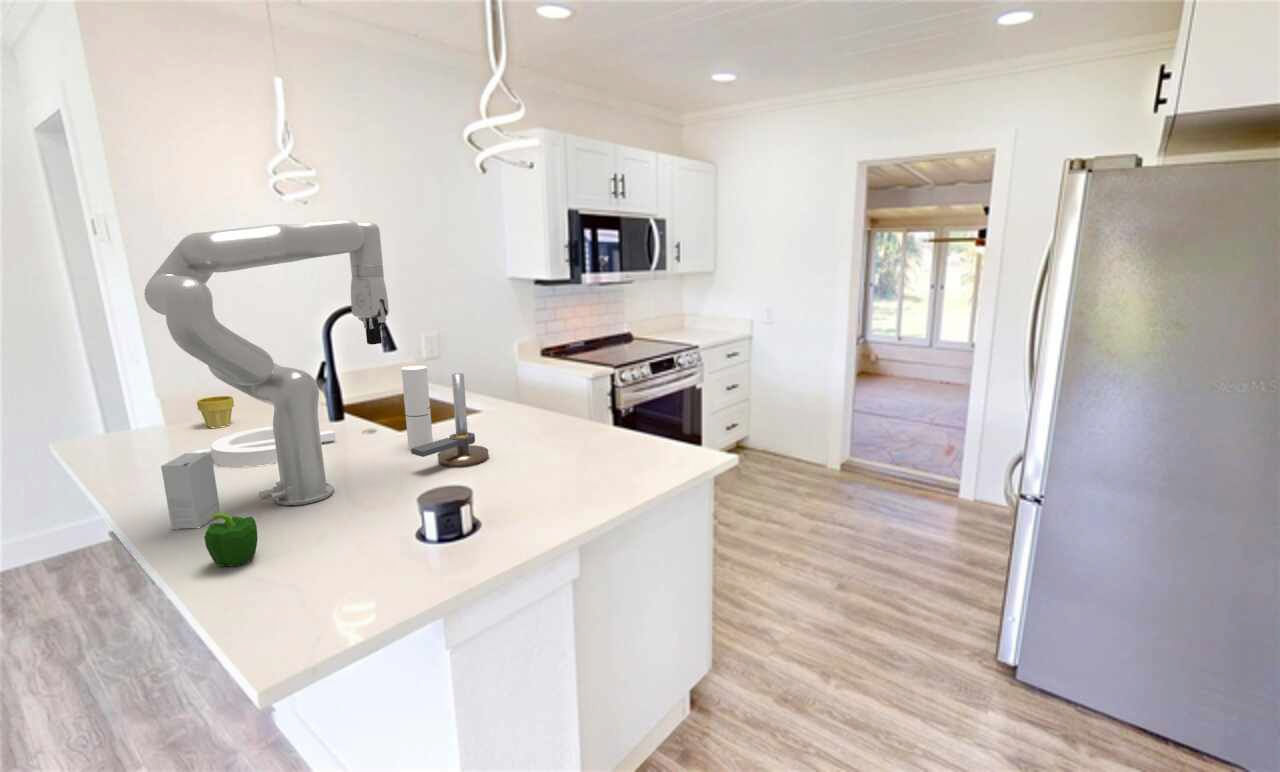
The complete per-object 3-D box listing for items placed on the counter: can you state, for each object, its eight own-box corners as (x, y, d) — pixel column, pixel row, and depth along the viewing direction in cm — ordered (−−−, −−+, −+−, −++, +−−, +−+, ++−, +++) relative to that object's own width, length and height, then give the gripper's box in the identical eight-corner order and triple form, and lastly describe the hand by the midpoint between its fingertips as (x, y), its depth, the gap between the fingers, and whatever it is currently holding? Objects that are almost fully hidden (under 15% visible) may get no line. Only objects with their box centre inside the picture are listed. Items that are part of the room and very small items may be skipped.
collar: (425, 458, 158) (424, 451, 158) (409, 454, 162) (408, 446, 161) (479, 441, 173) (479, 434, 173) (464, 437, 177) (463, 431, 176)
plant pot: (235, 420, 217) (231, 394, 215) (238, 426, 209) (234, 399, 207) (200, 425, 211) (195, 398, 209) (202, 431, 203) (197, 403, 201)
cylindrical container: (437, 444, 187) (430, 365, 182) (426, 451, 180) (420, 370, 175) (415, 443, 188) (408, 365, 183) (404, 450, 181) (396, 369, 176)
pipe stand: (459, 470, 164) (453, 381, 158) (427, 461, 171) (420, 375, 166) (498, 457, 175) (493, 373, 170) (467, 448, 183) (461, 368, 178)
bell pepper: (271, 551, 119) (265, 504, 117) (243, 572, 111) (235, 522, 109) (230, 550, 119) (223, 503, 117) (199, 571, 111) (190, 521, 109)
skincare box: (194, 514, 136) (184, 452, 133) (222, 513, 137) (212, 451, 134) (170, 530, 128) (158, 464, 125) (200, 529, 129) (189, 463, 126)
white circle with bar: (188, 465, 170) (186, 449, 169) (265, 437, 197) (263, 423, 196) (274, 471, 165) (272, 454, 164) (341, 441, 192) (339, 427, 191)
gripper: (337, 272, 154) (345, 343, 158) (370, 273, 146) (377, 347, 150) (364, 272, 160) (371, 340, 164) (398, 272, 152) (404, 344, 156)
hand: (374, 343), depth 157 cm, fingers closed
